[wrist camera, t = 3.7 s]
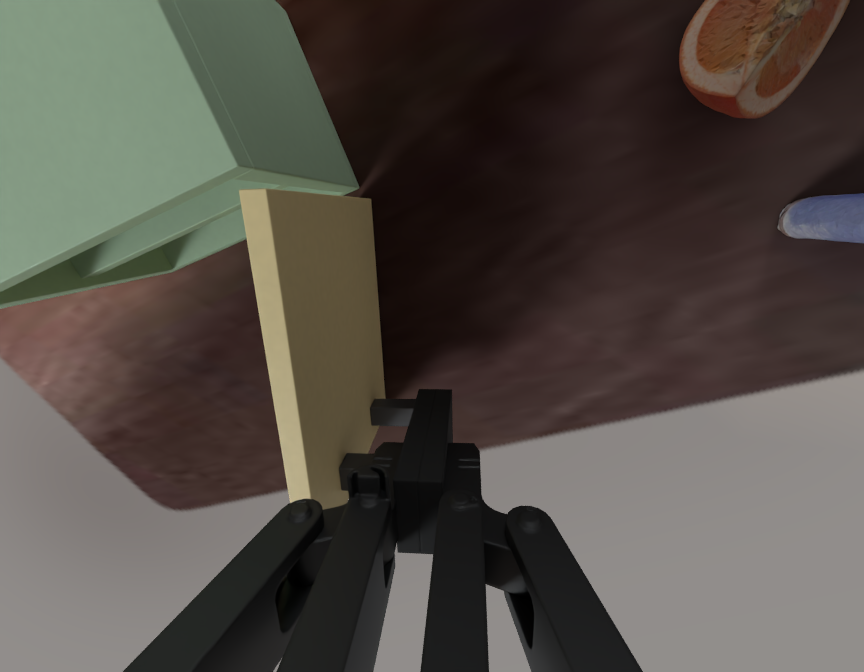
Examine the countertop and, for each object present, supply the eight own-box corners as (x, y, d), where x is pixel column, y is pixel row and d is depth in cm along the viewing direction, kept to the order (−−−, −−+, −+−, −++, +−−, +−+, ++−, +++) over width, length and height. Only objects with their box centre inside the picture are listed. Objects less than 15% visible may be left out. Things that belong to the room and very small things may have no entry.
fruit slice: (738, -64, 22) (814, -140, 17) (838, 4, 22) (939, -52, 17) (639, 93, 24) (680, 65, 19) (730, 151, 25) (792, 137, 20)
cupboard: (360, 188, 27) (238, 166, 13) (172, 272, 30) (-91, 328, 16) (286, 11, 25) (29, -263, 10) (88, 123, 28) (-318, 33, 13)
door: (447, 195, 27) (421, 181, 13) (451, 411, 32) (435, 571, 18) (356, 199, 27) (237, 189, 13) (374, 409, 32) (299, 563, 18)
